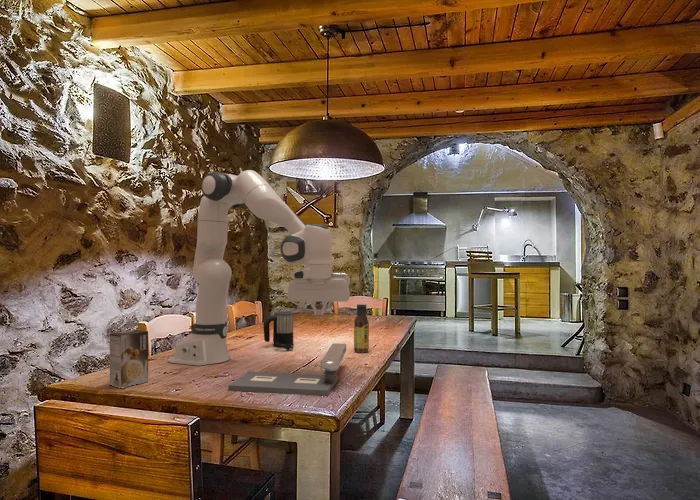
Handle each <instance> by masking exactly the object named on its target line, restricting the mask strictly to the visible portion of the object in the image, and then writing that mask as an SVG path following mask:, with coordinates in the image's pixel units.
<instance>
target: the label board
mask: <svg viewBox="0 0 700 500" xmlns="http://www.w3.org/2000/svg"><path fill="white" fill-rule="evenodd" d="M335 372H336V371H324V374H311V373H310V374H309V373H288V372H287V373H286V372H285V373H284V372H265V371H247V372H246V373H244V374H243V375H241V376H239V378H237V379H236V380H234V381H233V382H231V383H229V384H228V385H227V386H228V387H227V388H228V389H227V390H228V391H230V390H234V391H233V392H236V391H237V392H251V393H253V392H254V393H271V394H285V395H286V394H287V395H289V394H290V395H311V396H326V397H328V396H329V394H330V392H331V391H332V390H333V388H334V387H335V385H336V384H337V383H338V378H339V376H338V375H336V373H335Z"/></svg>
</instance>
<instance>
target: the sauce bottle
mask: <svg viewBox="0 0 700 500" xmlns="http://www.w3.org/2000/svg"><path fill="white" fill-rule="evenodd" d="M356 310H357V311H356V316H355V318H354V322H353V323H354V325H353V347H354V348H353V351H354V352H355V353H358V354H359V353H360V354H361V353H362V354H363V353H364V354H365V353H368V352H369V347H370V341H369V340H370V322H369V319H368V317H367V304H366V303H359V304H356Z"/></svg>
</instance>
